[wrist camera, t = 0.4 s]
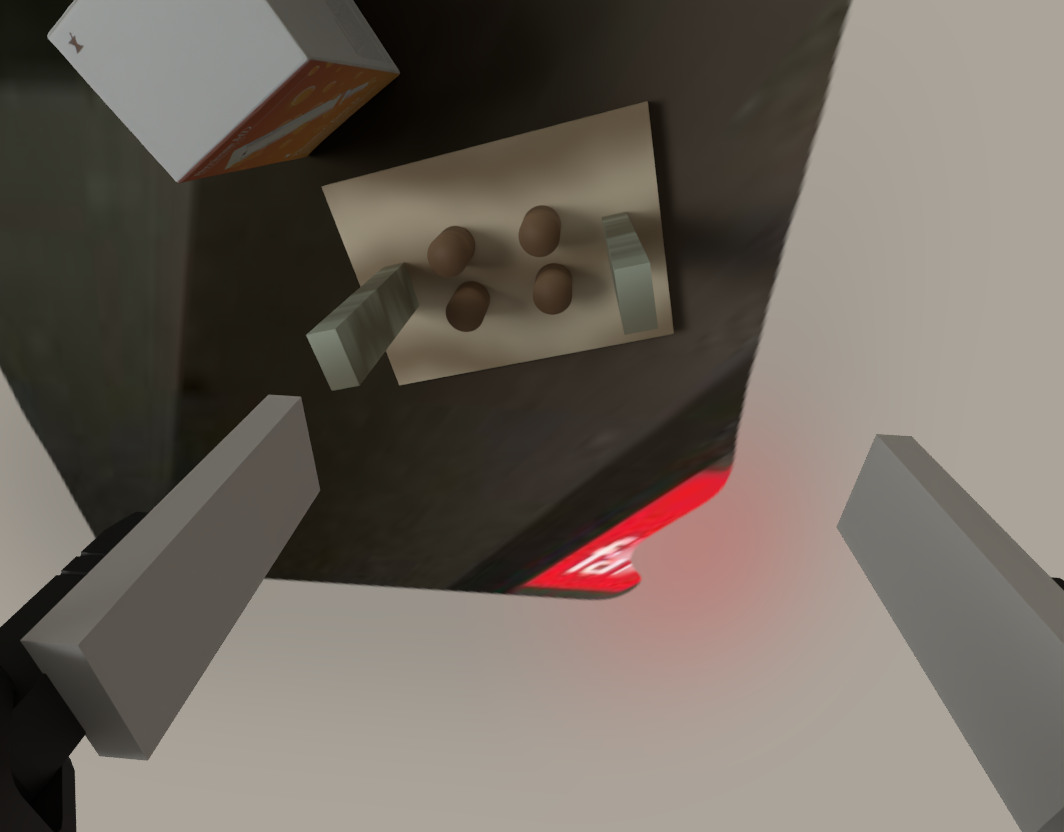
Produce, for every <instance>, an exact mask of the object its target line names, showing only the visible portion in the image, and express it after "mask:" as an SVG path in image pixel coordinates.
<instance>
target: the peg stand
mask: <svg viewBox="0 0 1064 832" xmlns="http://www.w3.org/2000/svg"><path fill="white" fill-rule="evenodd" d="M322 189H323V192H324V194H325V197H326V199H327V202H328V205H329V207H330V210H331V212H332V215H333V217H334V220H335V222H336V225H337V228H338V230H339V233H340V235H341V238H342V240H343V243H344V245H345V248H346V250H347V253H348V256H349V258H350V261H351V263H352V266H353V268H354V271H355V273H356V276H357V278H358V281H359V284H360V286H361V287H360V288H359V289H358V290H357V291H356V292H354V293H353V294H352V295H351V296H350V297H349V298H348V299H346V300H345V301H344V302H343V303H342V304H341V305H340V306H339V307H337V308H336V309H335V310H334V311H333V312H332V313H331V314H329V315H328V316H327V317H326V318H325V319H324V320H323V321H321V322H320V323H319V324H318V325H317V326H316V327H315V328H313V329H312V330H311V331H310V332H309V333H308V334H307V335H306V336H307V338H308V340H309V342H310V344H311V347H312V349H313V351H314V353H315V355H316V357H317V360H318V362H319V364H320V366H321V368H322V370H323V373H324V375H325V377H326V379H327V381H328V383H329V386H330V388H331V390H332V391H333V390H338V389H343V388H349V387H354V386H359V385H360V384H361V383H362V382H363V380H364V379H365V378H366V376H367V375H368V374H369V372H370V371H371V370H372V368H373V367H374V366H375V364H376V363H377V362H378V360H379V359H380V358H381V356H382V355H383V354H384V352H385V351H386V352H387V355H388V357H389V360H390V362H391V365H392V368H393V370H394V373H395V375H396V378H397V380H398V383H399V385H404V384H409V383H414V382H420V381H425V380H430V379H436V378H441V377H446V376H452V375H457V374H462V373H467V372H473V371H478V370H483V369H489V368H494V367H499V366H505V365H510V364H515V363H521V362H526V361H531V360H537V359H542V358H547V357H553V356H558V355H563V354H569V353H574V352H579V351H585V350H590V349H595V348H601V347H606V346H611V345H617V344H622V343H627V342H633V341H638V340H643V339H648V338H654V337H659V336H664V335H670V334H674V331H673V322H672V313H671V304H670V295H669V286H668V277H667V269H666V260H665V251H664V242H663V233H662V224H661V215H660V206H659V197H658V189H657V180H656V171H655V162H654V153H653V144H652V135H651V126H650V117H649V109H648V101H645V102H641V103H637V104H634V105H630V106H626V107H622V108H618V109H615V110H611V111H607V112H603V113H599V114H595V115H592V116H588V117H584V118H580V119H576V120H573V121H569V122H565V123H561V124H557V125H553V126H550V127H546V128H542V129H538V130H534V131H531V132H527V133H523V134H519V135H515V136H511V137H508V138H504V139H500V140H496V141H492V142H489V143H485V144H481V145H477V146H473V147H469V148H466V149H462V150H458V151H454V152H450V153H447V154H443V155H439V156H435V157H431V158H427V159H424V160H420V161H416V162H412V163H408V164H405V165H401V166H397V167H393V168H389V169H385V170H382V171H378V172H374V173H370V174H366V175H363V176H359V177H355V178H351V179H347V180H343V181H340V182H336V183H332V184H328V185H325V186H322Z"/></svg>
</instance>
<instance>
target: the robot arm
mask: <svg viewBox="0 0 1064 832" xmlns="http://www.w3.org/2000/svg"><path fill="white" fill-rule="evenodd" d="M319 491H320V487H319V483H318V478H317V473H316V468H315V463H314V458H313V453H312V449H311V444H310V439H309V434H308V429H307V424H306V419H305V415H304V410H303V405H302V400H301V397H295V396H280V395H268V396H267V397H266V398H265V399H264V400H263V401H262V402H261V403H260V404H259V405H258V406H257V407H256V408H255V409H254V410H253V411H252V412H251V413H250V414H249V415H248V416H247V417H246V418H245V419H244V420H243V421H242V422H241V423H240V424H239V425H238V426H237V427H236V428H235V429H233V430H232V431H231V432H230V433H229V434H228V435H227V436H226V437H225V438H224V439H223V440H222V441H221V442H220V443H219V444H218V445H217V446H216V447H215V448H214V449H213V450H212V451H211V452H210V453H209V454H208V455H207V456H206V457H205V458H204V459H203V460H202V461H201V462H200V463H199V464H198V465H197V466H196V467H195V468H194V469H193V470H192V471H191V472H190V473H189V474H188V475H187V476H186V477H185V478H184V479H183V480H182V481H181V482H180V483H179V484H178V485H177V486H176V487H175V488H174V489H173V490H172V491H171V492H170V493H169V494H168V495H167V496H166V497H165V498H164V499H163V500H162V501H161V502H160V503H159V504H158V505H157V506H156V507H155V508H154V509H153V510H152V511H151V512H150V513H145V512H135V513H133V514H131V515H130V516H128V517H126V518H124V519H123V520H121V521H119V522H118V523H116V524H114V525H113V526H111V527H109V528H107V529H106V530H104V531H103V532H102V533H101V534H100V535H99V536H98V537H97V538H96V539H95V540H94V541H93V542H91V543H90V544H89V545H88V546H87V547H86V548H85V549H84V550H83V551H82V552H81V556H80V557H75V558H74V559H73V560H72V561H71V562H70V563H69V564H68V565H67V566H66V567H65V568H64V569H63V570H62V573H61V575H56V576H55V577H54V578H53V579H52V580H51V581H50V582H49V583H48V584H47V585H45V586H44V587H43V588H42V589H41V590H40V591H39V592H38V593H37V594H36V595H35V596H33V597H32V598H31V599H30V600H29V601H28V602H27V603H26V604H25V605H24V606H23V607H22V608H21V609H20V610H19V611H17V612H16V613H15V614H14V615H13V616H12V617H11V618H10V619H9V620H8V621H7V622H6V623H5V624H3V626H1V627H0V832H76V809H75V807H76V804H75V770H74V768H73V765H72V762H71V759H70V758H69V757H68V756H69V755H70V754H71V753H72V751H73V750H74V749H75V747H76V746H77V745H78V743H79V742H80V741H81V739H82V738H83V737H84V735H86V737H87V738H88V740H89V741H90V743H91V744H92V746H93V747H94V749H95V750H96V752H97V753H98V754H99V756H105V757H115V758H127V759H137V760H148V759H149V758H150V756H151V754H152V753H153V751H154V750H155V748H156V747H157V745H158V744H159V742H160V740H161V739H162V737H163V736H164V734H165V732H166V731H167V730H168V728H169V726H170V725H171V723H172V722H173V720H174V718H175V717H176V715H177V714H178V712H179V711H180V709H181V708H182V706H183V704H184V703H185V701H186V700H187V698H188V696H189V695H190V693H191V692H192V690H193V689H194V687H195V686H196V684H197V682H198V681H199V679H200V678H201V676H202V675H203V673H204V671H205V670H206V668H207V667H208V665H209V663H210V662H211V660H212V659H213V657H214V656H215V654H216V653H217V651H218V649H219V648H220V646H221V645H222V643H223V642H224V640H225V639H226V637H227V635H228V634H229V632H230V631H231V629H232V628H233V626H234V624H235V623H236V621H237V620H238V618H239V617H240V615H241V613H242V612H243V610H244V609H245V607H246V606H247V604H248V602H249V601H250V599H251V598H252V596H253V595H254V593H255V591H256V590H257V588H258V587H259V585H260V584H261V582H262V581H263V579H264V577H265V576H266V574H267V573H268V571H269V570H270V568H271V566H272V565H273V563H274V562H275V560H276V559H277V557H278V555H279V554H280V552H281V551H282V549H283V548H284V546H285V545H286V543H287V541H288V540H289V538H290V537H291V535H292V534H293V532H294V530H295V529H296V527H297V526H298V524H299V523H300V521H301V519H302V518H303V516H304V515H305V513H306V512H307V510H308V508H309V507H310V505H311V504H312V502H313V501H314V499H315V497H316V496H317V494H318V493H319ZM837 528H838V530H839V532H840V533H841V535H842V537H843V538H844V540H845V542H846V543H847V545H848V547H849V548H850V550H851V551H852V553H853V555H854V556H855V558H856V560H857V561H858V563H859V565H860V566H861V568H862V570H863V571H864V573H865V574H866V576H867V578H868V579H869V581H870V583H871V584H872V586H873V588H874V589H875V591H876V593H877V594H878V596H879V597H880V599H881V601H882V602H883V604H884V606H885V607H886V609H887V610H888V612H889V614H890V616H891V617H892V619H893V621H894V622H895V624H896V625H897V627H898V629H899V630H900V632H901V634H902V635H903V637H904V639H905V640H906V642H907V644H908V645H909V647H910V648H911V650H912V652H913V653H914V655H915V657H916V658H917V660H918V662H919V663H920V665H921V667H922V668H923V670H924V671H925V673H926V675H927V676H928V678H929V680H930V681H931V683H932V685H933V686H934V687H935V690H936V691H937V693H938V695H939V696H940V698H941V699H942V701H943V703H944V704H945V706H946V708H947V709H948V711H949V713H950V714H951V716H952V718H953V719H954V720H955V722H956V724H957V726H958V727H959V729H960V731H961V732H962V734H963V736H964V737H965V739H966V740H967V742H968V744H969V746H970V747H971V749H972V750H973V752H974V754H975V755H976V757H977V759H978V760H979V762H980V764H981V765H982V767H983V768H984V770H985V772H986V774H987V775H988V777H989V778H990V780H991V782H992V783H993V785H994V787H995V788H996V790H997V791H998V793H999V795H1000V797H1001V798H1002V800H1003V801H1004V803H1005V805H1006V806H1007V808H1008V810H1009V811H1010V813H1011V815H1012V816H1013V818H1014V819H1015V821H1016V823H1017V824H1018V826H1019V828H1020V829H1021V831H1022V832H1064V581H1063V580H1062V579H1060V578H1051V577H1050V576H1049V575H1048V574H1047V573H1046V572H1045V571H1044V570H1043V569H1042V568H1041V567H1040V566H1039V565H1038V564H1037V563H1036V562H1035V561H1034V560H1033V559H1032V558H1031V557H1030V556H1029V555H1028V554H1027V553H1026V552H1025V551H1024V550H1023V549H1022V548H1021V547H1020V546H1019V545H1018V544H1017V543H1016V542H1015V541H1014V540H1013V539H1012V538H1011V537H1010V536H1009V535H1008V534H1007V533H1006V532H1005V531H1004V530H1003V529H1002V528H1001V527H1000V526H999V525H998V524H997V523H996V522H995V521H994V520H993V519H992V518H991V516H990V515H989V514H987V512H986V511H985V510H984V509H983V508H982V507H981V506H980V505H979V504H978V503H977V502H976V501H975V500H974V499H973V498H972V497H971V496H970V495H969V494H968V493H967V492H966V491H965V490H964V489H963V488H962V487H961V486H960V485H959V484H958V483H957V482H956V481H955V480H954V479H953V478H952V477H951V476H950V475H949V474H948V473H947V472H946V471H945V470H944V469H943V468H942V467H941V466H940V465H939V464H938V463H937V462H936V461H935V460H934V459H933V458H932V457H931V456H930V455H929V454H928V453H927V452H926V451H925V450H924V449H923V448H922V447H921V446H920V445H919V444H918V443H917V442H916V441H915V440H914V439H913V437H911V436H897V435H896V436H895V435H881V434H877V435H876V437H875V439H874V441H873V443H872V446H871V448H870V450H869V453H868V455H867V457H866V460H865V462H864V464H863V467H862V469H861V471H860V474H859V476H858V479H857V481H856V483H855V486H854V488H853V490H852V493H851V495H850V497H849V500H848V502H847V504H846V506H845V509H844V511H843V513H842V516H841V518H840V520H839V523H838V525H837Z"/></svg>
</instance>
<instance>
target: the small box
mask: <svg viewBox="0 0 1064 832" xmlns="http://www.w3.org/2000/svg"><path fill="white" fill-rule="evenodd" d="M47 36H48V39H49V40H50V41H51V42H52V43H53V44H54V46H55V47H56V48H57V49H58V50H59V51H60V52H61V53H62V54H63V55H64V56H65V58H66V59H67V60H68V61H69V62H70V63H71V65H72V66H73V67H74V68H75V69H76V70H77V71H78V73H79V74H80V75H81V76H82V77H83V78H84V79H85V80H86V82H87V83H88V84H89V85H90V86H91V87H92V88H93V89H94V91H95V92H96V93H97V94H98V95H99V96H100V97H101V98H102V100H103V101H104V102H105V103H106V104H107V105H108V106H109V107H110V109H111V110H112V111H113V112H114V113H115V114H116V115H117V116H118V117H119V119H120V120H121V121H122V122H123V123H124V124H125V125H126V126H127V127H128V129H129V130H130V131H131V132H132V133H133V134H134V135H135V136H136V137H137V138H138V140H139V141H140V142H141V143H142V144H143V145H144V146H145V147H146V149H147V150H148V151H149V152H150V153H151V154H152V155H153V156H154V158H155V159H156V160H157V161H158V162H159V163H160V164H161V165H162V166H163V167H164V168H165V169H166V171H167V172H168V173H169V174H170V175H171V176H172V177H173V179H174V180H175V181H176V182H178V183H182V182H186V181H191V180H195V179H199V178H204V177H209V176H214V175H219V174H224V173H229V172H234V171H239V170H244V169H249V168H254V167H259V166H263V165H268V164H273V163H278V162H283V161H289V160H294V159H299V158H303V157H306V156H308V155H309V154H310V153H311V152H312V151H313V150H314V149H315V148H316V147H317V146H318V145H319V144H320V143H321V142H322V141H323V140H324V139H325V138H327V137H328V136H329V135H330V134H331V133H332V132H333V131H334V130H336V129H337V128H338V127H339V126H340V125H341V124H343V123H344V122H345V121H346V120H347V119H348V118H349V117H350V116H351V115H353V114H354V113H355V112H356V111H357V110H358V109H360V108H361V107H362V106H363V105H364V104H366V103H367V102H368V101H369V100H370V99H371V98H373V97H374V96H375V95H376V94H377V93H378V92H380V91H381V90H382V89H383V88H384V87H386V86H387V85H388V84H389V83H390V82H392V81H393V80H394V79H395V78H396V77H398V76H399V75H400V72H399V70H398V68H397V67H396V65H395V64H394V62H393V61H392V59H391V58H390V56H389V54H388V53H387V51H386V50H385V48H384V47H383V45H382V44H381V42H380V41H379V39H378V38H377V36H376V35H375V33H374V31H373V30H372V28H371V27H370V25H369V24H368V22H367V21H366V19H365V18H364V16H363V15H362V13H361V12H360V10H359V9H358V7H357V5H356V4H355V2H354V1H353V0H74V1H73V2H72V4H71V5H70V6H69V7H68V9H67V10H66V11H65V13H64V14H63V16H62V17H61V18H60V19H59V20H58V22H57V23H56V24H55V26H54V27H53V28H52V29H51V30H50V32H49V33H48V35H47Z"/></svg>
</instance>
